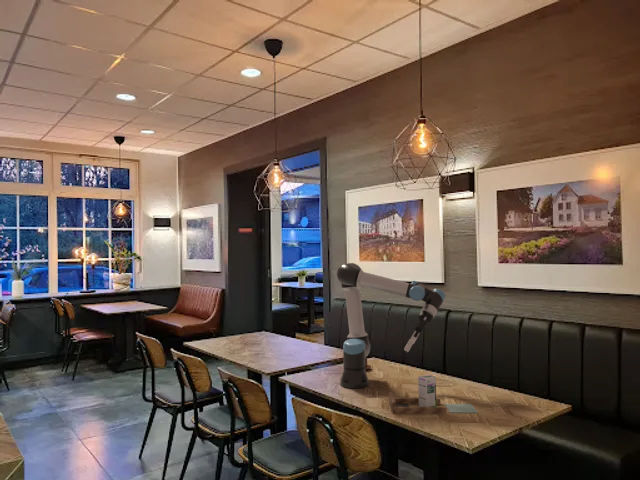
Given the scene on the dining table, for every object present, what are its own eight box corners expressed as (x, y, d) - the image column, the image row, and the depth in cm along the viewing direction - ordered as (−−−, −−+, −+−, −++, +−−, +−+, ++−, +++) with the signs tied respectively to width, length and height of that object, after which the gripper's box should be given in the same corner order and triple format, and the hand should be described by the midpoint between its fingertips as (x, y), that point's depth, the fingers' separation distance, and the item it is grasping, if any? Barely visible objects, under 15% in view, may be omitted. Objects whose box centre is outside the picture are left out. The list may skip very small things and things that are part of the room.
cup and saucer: (370, 372, 292) (370, 361, 292) (349, 371, 294) (349, 361, 294) (372, 367, 304) (372, 357, 304) (352, 366, 306) (352, 356, 306)
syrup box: (426, 411, 220) (426, 378, 220) (418, 407, 225) (418, 375, 225) (436, 409, 223) (436, 376, 223) (428, 405, 228) (427, 374, 228)
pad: (450, 412, 217) (450, 412, 217) (444, 404, 229) (444, 403, 229) (478, 413, 217) (478, 412, 217) (471, 404, 229) (471, 404, 229)
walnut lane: (392, 413, 217) (392, 402, 217) (389, 403, 232) (389, 392, 232) (446, 414, 216) (446, 402, 216) (439, 403, 231) (439, 392, 231)
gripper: (439, 309, 251) (420, 343, 242) (427, 326, 273) (409, 357, 264) (426, 301, 253) (407, 334, 244) (415, 319, 275) (397, 350, 265)
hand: (408, 346), depth 254 cm, fingers open, 13 cm apart
